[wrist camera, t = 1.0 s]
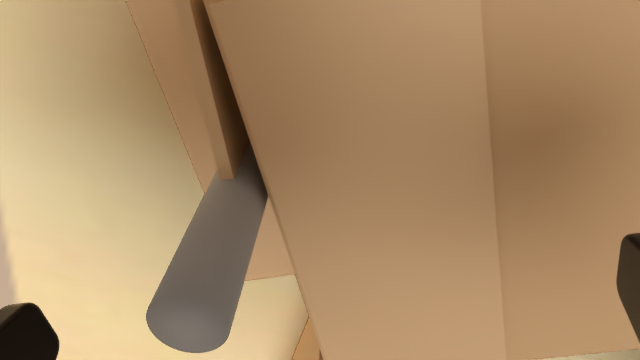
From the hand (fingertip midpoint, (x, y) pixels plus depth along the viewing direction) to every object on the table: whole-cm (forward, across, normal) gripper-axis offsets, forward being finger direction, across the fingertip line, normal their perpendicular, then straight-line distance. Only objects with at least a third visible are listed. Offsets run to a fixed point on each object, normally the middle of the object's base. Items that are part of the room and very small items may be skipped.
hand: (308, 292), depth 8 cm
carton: (+12, -3, +6) cm, 14 cm away
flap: (+12, +3, 0) cm, 12 cm away
